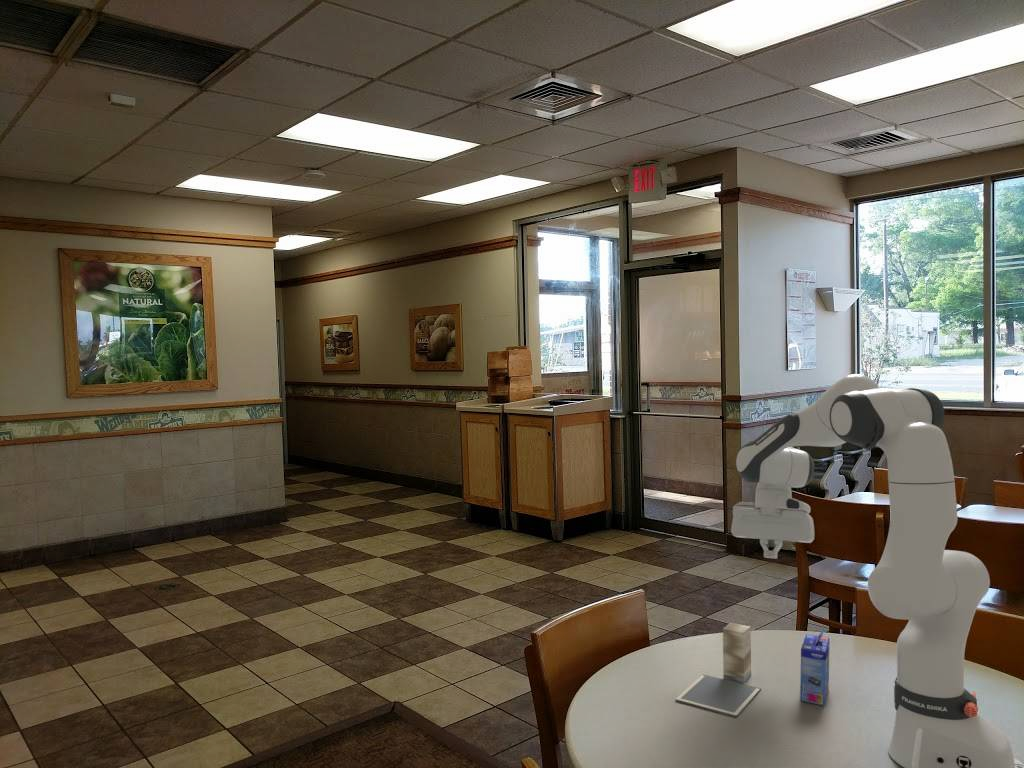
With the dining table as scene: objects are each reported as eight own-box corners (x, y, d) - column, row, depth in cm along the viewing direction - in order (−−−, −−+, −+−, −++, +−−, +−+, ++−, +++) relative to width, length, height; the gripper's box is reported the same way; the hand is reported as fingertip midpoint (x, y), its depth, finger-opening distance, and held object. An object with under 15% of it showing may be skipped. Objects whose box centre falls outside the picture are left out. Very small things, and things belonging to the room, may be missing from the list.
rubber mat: (761, 690, 173) (761, 687, 173) (736, 717, 160) (736, 715, 160) (703, 675, 181) (703, 673, 181) (675, 701, 168) (675, 698, 168)
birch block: (751, 675, 181) (750, 626, 180) (744, 683, 177) (743, 632, 176) (731, 671, 184) (730, 622, 183) (723, 678, 180) (722, 628, 179)
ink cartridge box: (826, 707, 164) (825, 641, 163) (799, 702, 166) (798, 637, 166) (830, 688, 172) (829, 626, 172) (805, 684, 175) (804, 623, 175)
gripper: (729, 499, 196) (725, 552, 192) (810, 503, 184) (808, 560, 180) (737, 503, 201) (734, 555, 197) (817, 507, 189) (815, 563, 185)
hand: (770, 558), depth 189 cm, fingers closed
